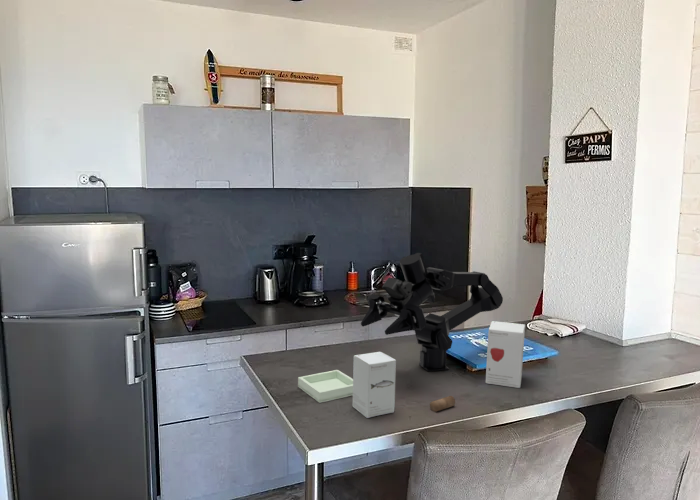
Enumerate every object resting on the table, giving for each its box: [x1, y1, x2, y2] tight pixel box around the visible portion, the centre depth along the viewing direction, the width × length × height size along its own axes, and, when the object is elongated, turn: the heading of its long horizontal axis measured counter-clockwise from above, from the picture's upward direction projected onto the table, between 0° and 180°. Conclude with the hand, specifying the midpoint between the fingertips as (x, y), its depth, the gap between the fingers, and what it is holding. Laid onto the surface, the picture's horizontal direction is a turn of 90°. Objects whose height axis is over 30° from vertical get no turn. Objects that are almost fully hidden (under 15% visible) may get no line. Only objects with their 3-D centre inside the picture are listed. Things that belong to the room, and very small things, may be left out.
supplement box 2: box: [485, 320, 526, 389], centre depth 143 cm, size 9×9×15 cm
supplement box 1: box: [352, 351, 397, 419], centre depth 123 cm, size 7×7×13 cm
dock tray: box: [297, 369, 353, 403], centre depth 135 cm, size 12×12×2 cm
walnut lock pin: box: [429, 395, 456, 413], centre depth 126 cm, size 6×2×2 cm, turn 127°
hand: (373, 328), depth 137 cm, fingers open, 9 cm apart
